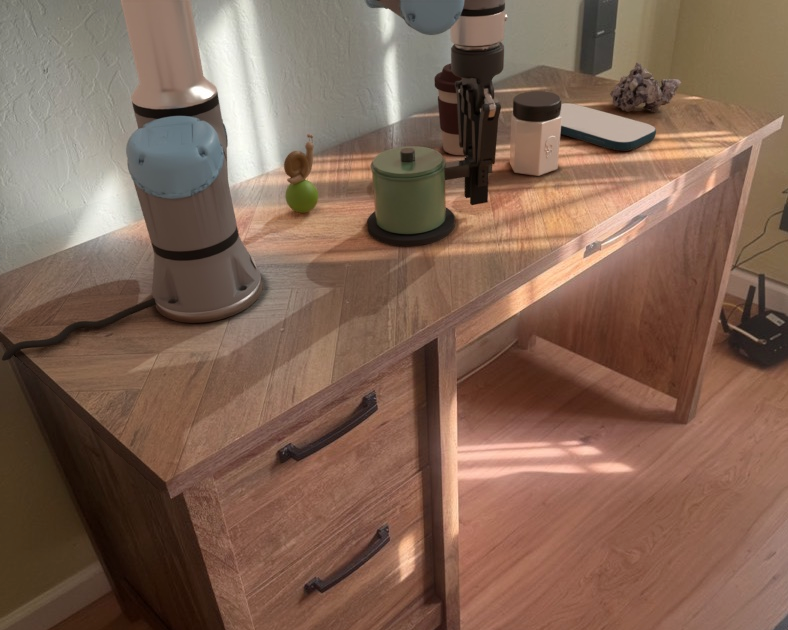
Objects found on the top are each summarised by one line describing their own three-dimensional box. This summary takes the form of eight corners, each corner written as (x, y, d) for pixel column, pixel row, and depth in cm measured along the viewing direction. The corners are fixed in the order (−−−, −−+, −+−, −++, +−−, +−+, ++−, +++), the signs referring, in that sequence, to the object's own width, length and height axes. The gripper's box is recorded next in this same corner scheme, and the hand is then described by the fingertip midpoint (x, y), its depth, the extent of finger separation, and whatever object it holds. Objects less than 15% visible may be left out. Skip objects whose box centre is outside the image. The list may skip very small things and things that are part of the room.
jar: (529, 180, 133) (533, 110, 125) (499, 166, 138) (501, 98, 131) (567, 166, 136) (573, 98, 129) (536, 153, 142) (540, 87, 134)
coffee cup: (497, 143, 147) (499, 61, 137) (473, 162, 140) (473, 77, 131) (451, 136, 151) (451, 56, 142) (426, 154, 145) (424, 71, 135)
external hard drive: (661, 138, 144) (663, 127, 143) (624, 156, 139) (625, 145, 137) (563, 110, 159) (564, 100, 157) (526, 125, 153) (526, 115, 152)
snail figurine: (331, 207, 129) (322, 137, 122) (302, 221, 126) (292, 150, 118) (309, 199, 132) (300, 130, 125) (281, 212, 129) (269, 142, 121)
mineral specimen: (687, 92, 152) (664, 47, 148) (655, 119, 150) (631, 74, 147) (647, 106, 163) (625, 64, 160) (617, 131, 161) (594, 90, 158)
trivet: (379, 252, 116) (379, 247, 115) (358, 214, 126) (358, 208, 126) (466, 236, 118) (466, 231, 118) (439, 200, 129) (439, 195, 128)
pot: (502, 219, 119) (504, 150, 112) (384, 240, 116) (379, 170, 109) (477, 190, 128) (478, 124, 121) (367, 209, 125) (361, 142, 118)
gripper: (523, 53, 103) (515, 215, 117) (483, 27, 114) (481, 177, 129) (470, 60, 101) (469, 223, 116) (436, 33, 113) (439, 185, 128)
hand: (476, 199), depth 123 cm, fingers closed on pot, 2 cm apart
